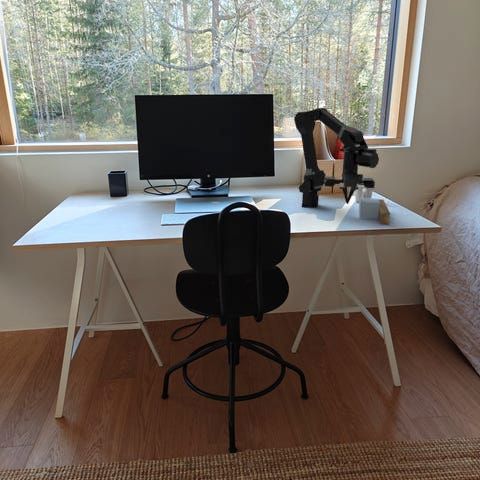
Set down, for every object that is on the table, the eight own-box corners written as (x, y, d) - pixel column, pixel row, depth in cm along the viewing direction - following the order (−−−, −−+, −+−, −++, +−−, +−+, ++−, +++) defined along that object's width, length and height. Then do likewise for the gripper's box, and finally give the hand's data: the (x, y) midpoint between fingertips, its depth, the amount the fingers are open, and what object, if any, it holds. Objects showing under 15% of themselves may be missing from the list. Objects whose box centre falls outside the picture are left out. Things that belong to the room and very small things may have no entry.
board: (380, 224, 159) (381, 212, 158) (374, 209, 178) (375, 199, 176) (388, 224, 159) (390, 213, 157) (382, 209, 177) (383, 199, 176)
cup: (373, 206, 182) (375, 188, 180) (354, 205, 184) (355, 187, 181) (371, 200, 192) (372, 182, 189) (353, 199, 194) (354, 182, 191)
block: (359, 218, 167) (361, 202, 164) (358, 213, 173) (359, 198, 171) (378, 219, 165) (379, 203, 163) (376, 214, 172) (377, 198, 169)
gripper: (326, 167, 158) (323, 208, 163) (378, 169, 155) (373, 210, 160) (325, 162, 168) (323, 200, 173) (374, 163, 165) (370, 202, 170)
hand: (347, 203), depth 169 cm, fingers closed
